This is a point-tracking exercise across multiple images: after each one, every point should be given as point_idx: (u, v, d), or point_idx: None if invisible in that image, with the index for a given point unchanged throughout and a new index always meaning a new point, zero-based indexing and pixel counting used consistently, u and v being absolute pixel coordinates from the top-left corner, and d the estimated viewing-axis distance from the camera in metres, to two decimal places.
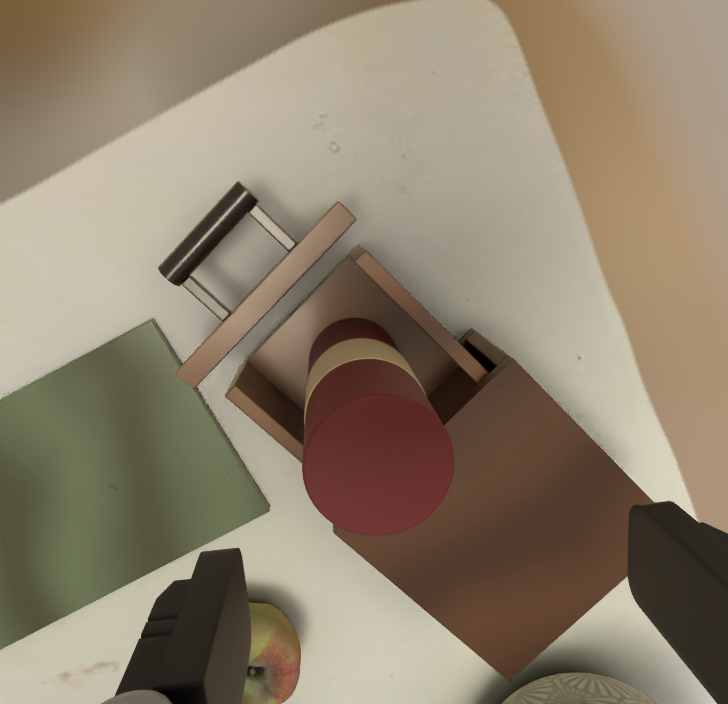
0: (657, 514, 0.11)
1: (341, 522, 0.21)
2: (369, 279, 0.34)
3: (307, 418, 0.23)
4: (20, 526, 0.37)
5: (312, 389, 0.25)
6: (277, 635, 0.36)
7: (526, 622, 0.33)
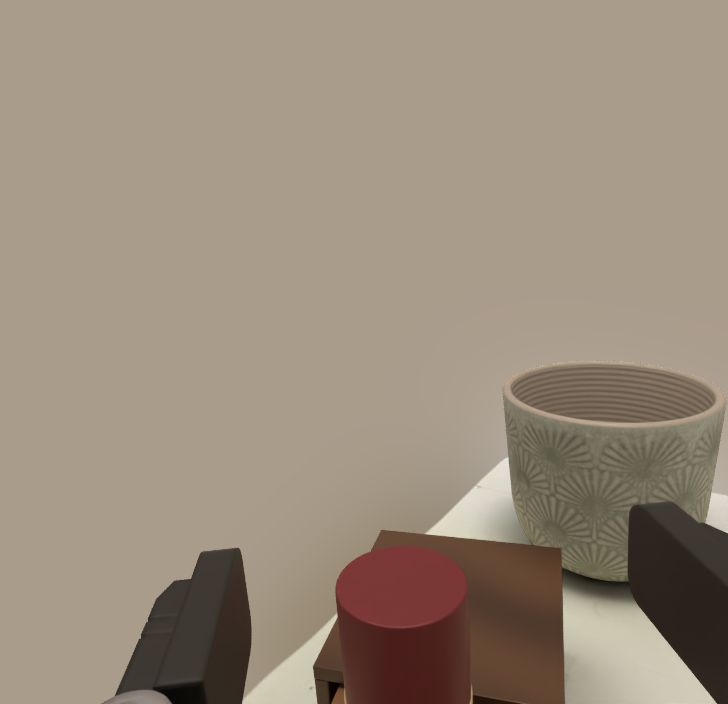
0: (657, 514, 0.11)
1: (461, 582, 0.23)
2: None
3: (419, 691, 0.22)
4: None
5: None
6: None
7: (510, 560, 0.39)
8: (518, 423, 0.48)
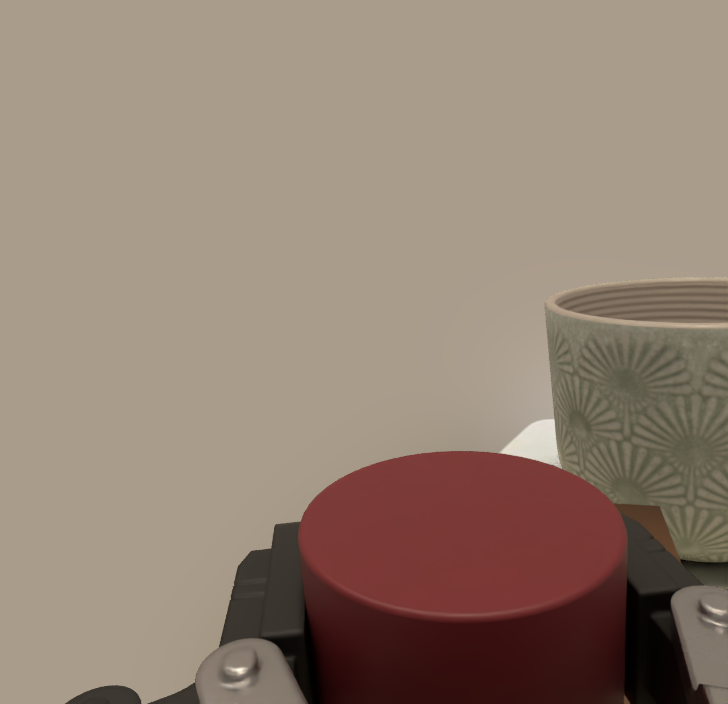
0: None
1: (603, 507, 0.10)
2: None
3: None
4: None
5: None
6: None
7: None
8: (573, 343, 0.34)
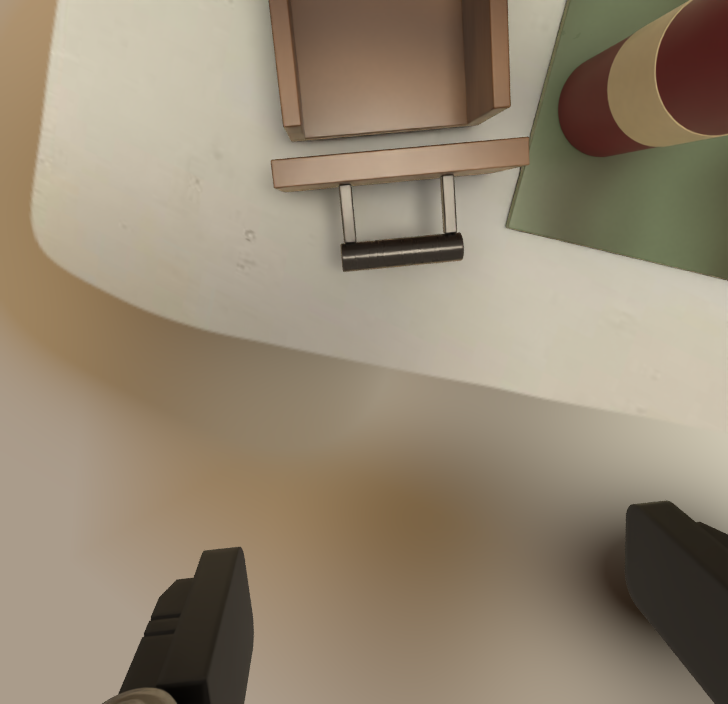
0: (655, 514, 0.11)
1: None
2: (304, 101, 0.30)
3: None
4: None
5: None
6: None
7: None
8: None
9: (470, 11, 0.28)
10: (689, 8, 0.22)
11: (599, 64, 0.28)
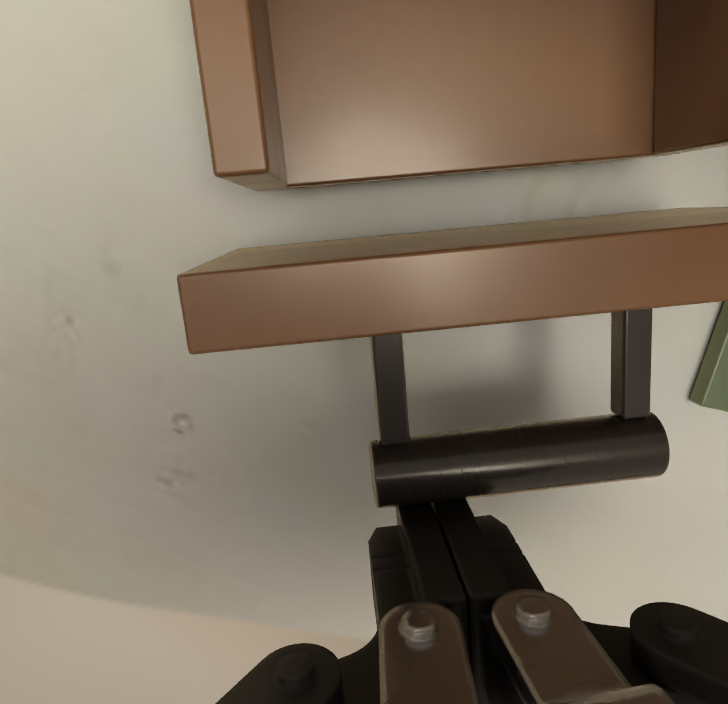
0: (442, 508, 0.12)
1: None
2: (286, 101, 0.13)
3: None
4: None
5: None
6: None
7: None
8: None
9: None
10: None
11: None
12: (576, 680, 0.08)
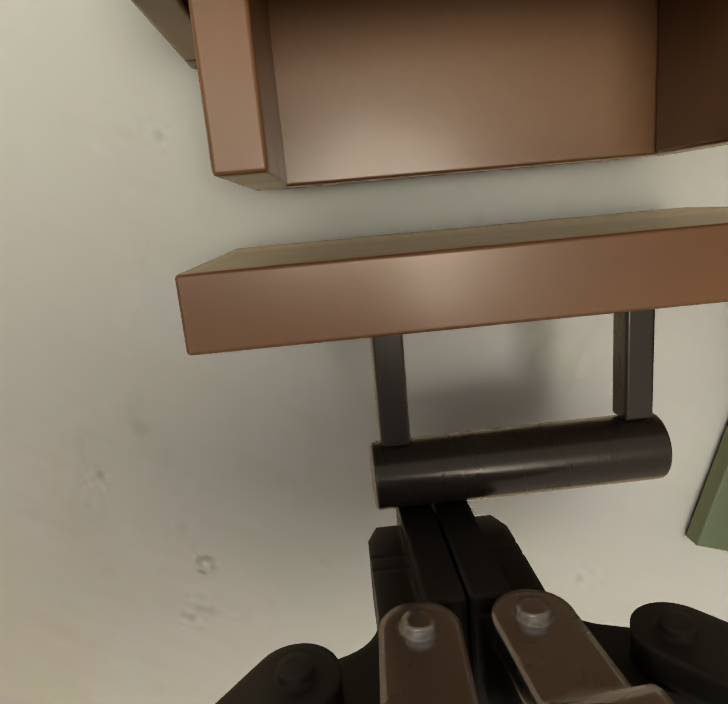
0: (442, 507, 0.12)
1: None
2: (285, 100, 0.13)
3: None
4: None
5: None
6: None
7: None
8: None
9: None
10: None
11: None
12: (576, 681, 0.08)
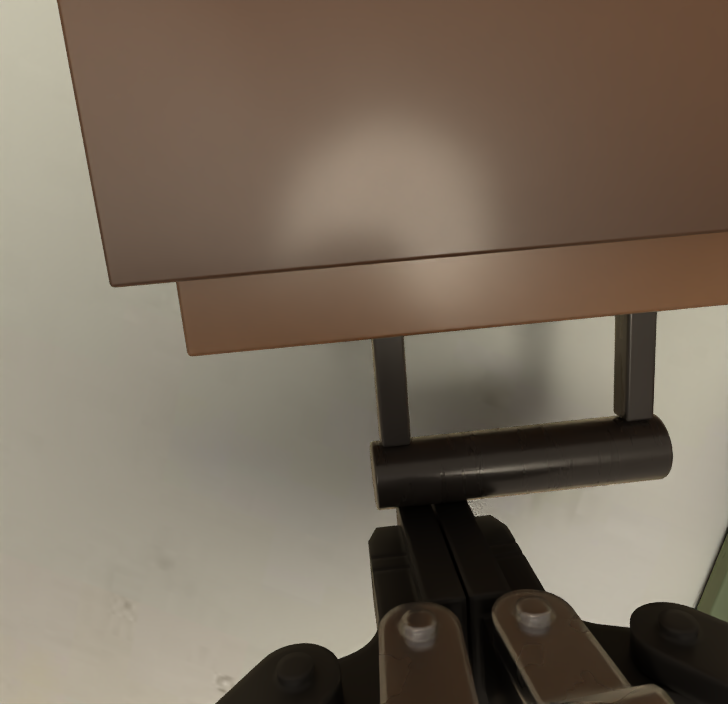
0: (442, 507, 0.12)
1: None
2: None
3: None
4: None
5: None
6: None
7: None
8: None
9: None
10: None
11: None
12: (576, 681, 0.08)
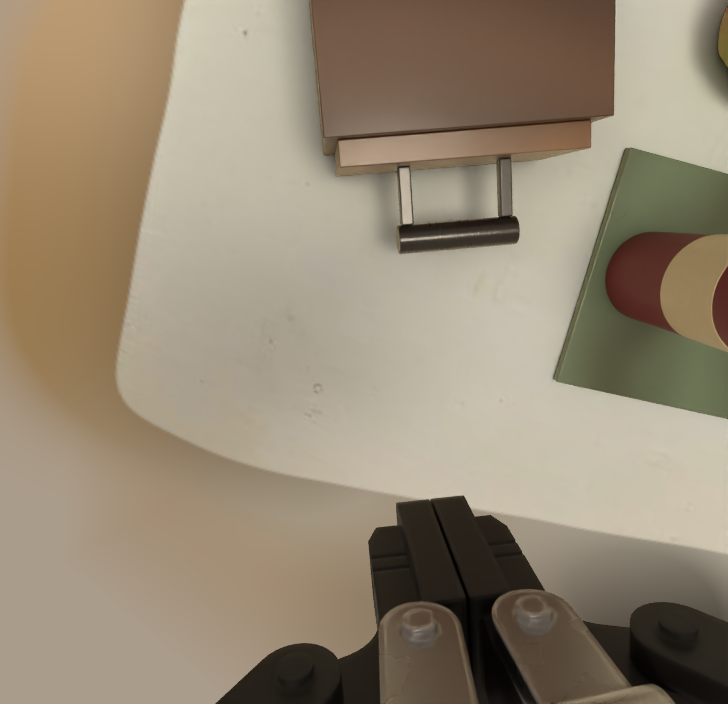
0: (442, 508, 0.12)
1: None
2: None
3: None
4: None
5: None
6: None
7: None
8: None
9: None
10: None
11: (650, 261, 0.31)
12: (576, 681, 0.08)
